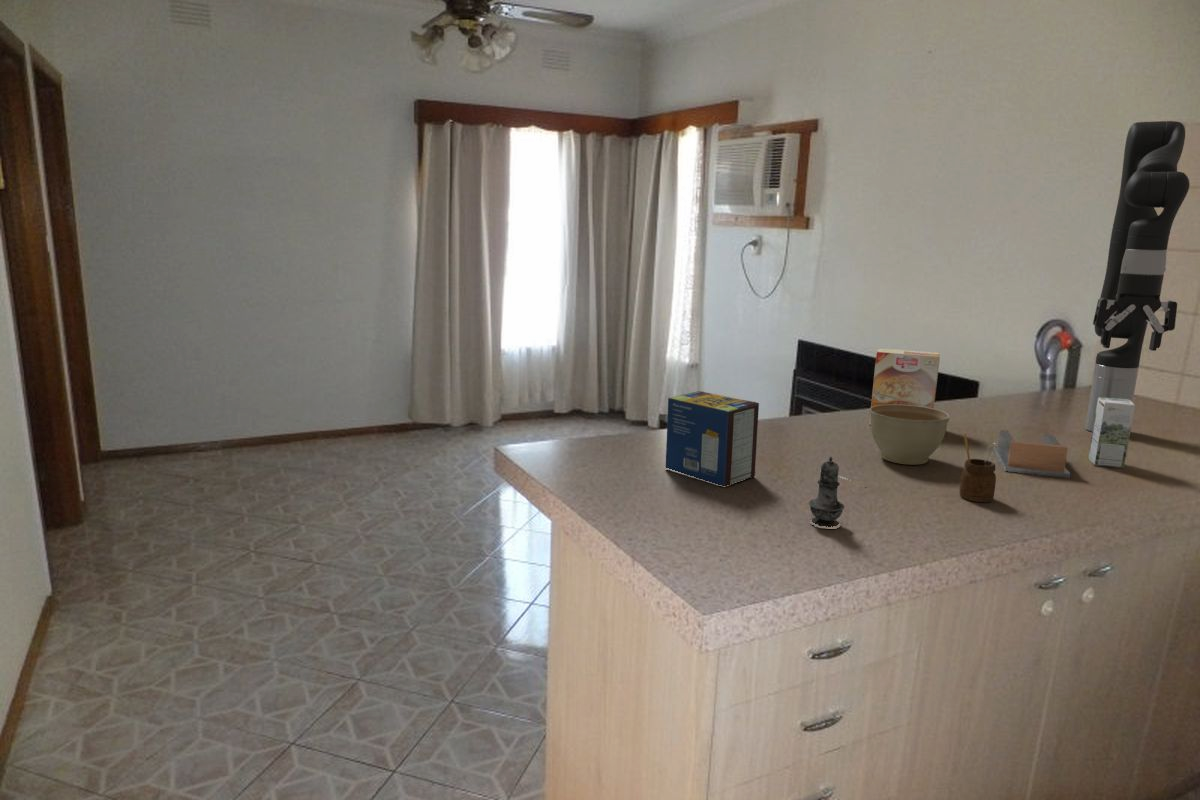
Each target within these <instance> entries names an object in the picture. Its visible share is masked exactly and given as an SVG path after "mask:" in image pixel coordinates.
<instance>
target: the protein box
mask: <svg viewBox="0 0 1200 800" xmlns="http://www.w3.org/2000/svg"><path fill="white" fill-rule="evenodd" d="M759 406H760V403H759V402H755V401H751V400H747V399H746V400H745V399H741V398H735V397H731V396H726V395H721V394H716V393H710V392H705V391H702V390H701V391H700V390H698V391H694V392H687V393H684V394H680V395H674V396H669V397H668V400H667V422H666V423H667V425H666V447H665V448H666V449H665V467H666V468H669V469H672V470H675V471H678V472H681V473H684V474H687V475H690V476H694V477H696V478H699V479H703V480H705V481H709V482H712V483H715V484H718V485H722V486H727V485H730V484H732V483H735V482H738V481H741V480H744V479H748V478H751V477H753V478H755V477H756V458H757V445H758V444H757V443H758V442H757V441H758V425H759V409H760V408H759ZM754 476H755V477H754ZM751 479H752V478H751ZM748 480H749V479H748Z"/></svg>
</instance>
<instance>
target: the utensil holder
mask: <svg viewBox="0 0 1200 800" xmlns="http://www.w3.org/2000/svg"><path fill="white" fill-rule="evenodd" d="M963 437H964V445H965V446H964V447H965V452H966V455H967V459H966V460H965V462H964V469H963V470H962V472H961V477H960V484H959V496H960V497H961V498H962V497H963V498H962V499H964V498H965V499H964V500H966V499H968V500H967V501H969V500H971V501H970V502H973V501H976V502H975V503H981V502H985V503H990V502H992V501H993V500H994V497H995V491H996V485H997V484H996V483H997V476H996V473H995V471H996V464H995V463H996V462H997V460H999V459H998V457H999V456H998V457H997V455H996V454H995V455H996V456H995V457H996V458H997V459H996V460H994V461H990V460H991V458H992V456H993V453H994V448H995V446H997V447H999V446H998V444H997V443H994V445H995V446H994V445H993V443H990V444H988V445H987V447H988V448H987V450H985V451H984V455H983V456H984V459H980V458H971V457H970V448H969V441H968V438H967V437H968V436H967V433H965V434H964V435H963ZM992 446H993V449H992V453H991V455H990V457H989V460H987V456H988V453H989V450H990V448H991V447H992ZM999 448H1000V447H999ZM986 451H987V452H986ZM998 451H999V450H998ZM985 454H986V455H985ZM997 454H998V452H997ZM999 454H1000V453H999Z"/></svg>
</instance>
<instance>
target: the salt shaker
mask: <svg viewBox="0 0 1200 800" xmlns="http://www.w3.org/2000/svg"><path fill="white" fill-rule="evenodd" d="M839 469H840V467H839V465H838V463H836V462H834V461H833V457H832V456H830V457H829V458H828V460H827V461H825V462H823V463H822V464H821V466H820V470H821V472H820V475H819V480H817V484H818V493H817V496H816V498H813V499H811V500H809V501H808V504H809V506H810V512H811V514H812V515H813V516H814V517H812V518H811V519H812V522H813V523H815V524H818V525H819V526H826V527H827V526H828V527H831V526H832V527H833V526H837V525H838V524H839V523H840V522H839V521H838V520H837V519H838V518H840V517H841V515H842V513H843V510H844V509H845V504H844V503H842V502H841V501H838V487H839V486H840V482H838V480H839V479H838V476H839Z"/></svg>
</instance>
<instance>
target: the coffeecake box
mask: <svg viewBox="0 0 1200 800" xmlns="http://www.w3.org/2000/svg"><path fill="white" fill-rule="evenodd" d="M940 355H941V354H940V352H934V351H933V352H932V351H931V352H930V351H920V350H919V351H917V350H908V349H907V350H906V349H894V348H893V349H892V348H882V347H881V348H877V350H876V355H875V364H874V373H873V375H874V376H873V385H872V394H871V402H870V403H871V405H870V408H871V407H873V406H877V405H911V406H920V407H927V408H932V409H935V401H936V400H935V399H936V393H937V385H938V376H939V368H940V367H939V366H940V359H941V358H940ZM870 418H871V415H869V419H870ZM868 423H869V424H870V421H869V422H868Z"/></svg>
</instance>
